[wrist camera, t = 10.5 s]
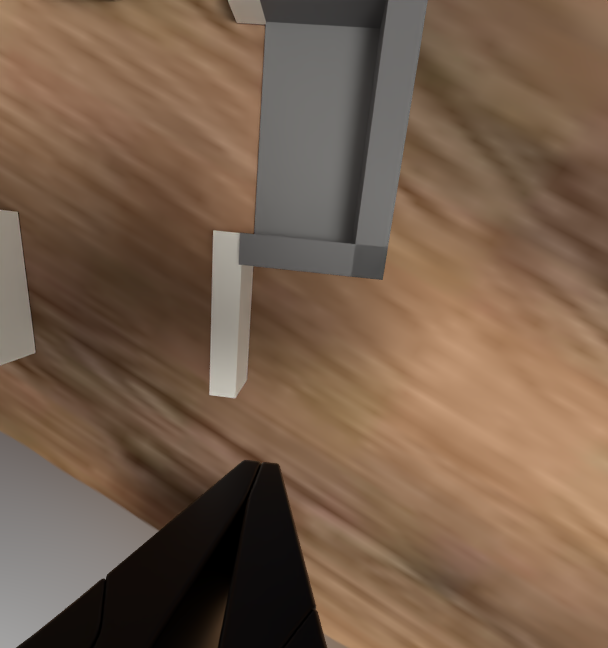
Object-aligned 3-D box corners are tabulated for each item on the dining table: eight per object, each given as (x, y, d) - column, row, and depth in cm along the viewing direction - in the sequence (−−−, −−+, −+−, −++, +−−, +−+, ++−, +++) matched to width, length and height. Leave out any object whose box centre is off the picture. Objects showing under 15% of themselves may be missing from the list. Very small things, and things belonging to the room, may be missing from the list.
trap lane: (355, 393, 19) (361, 424, 16) (-81, 338, 21) (-160, 355, 18) (459, -288, 12) (511, -500, 9) (-221, -287, 14) (-402, -463, 10)
